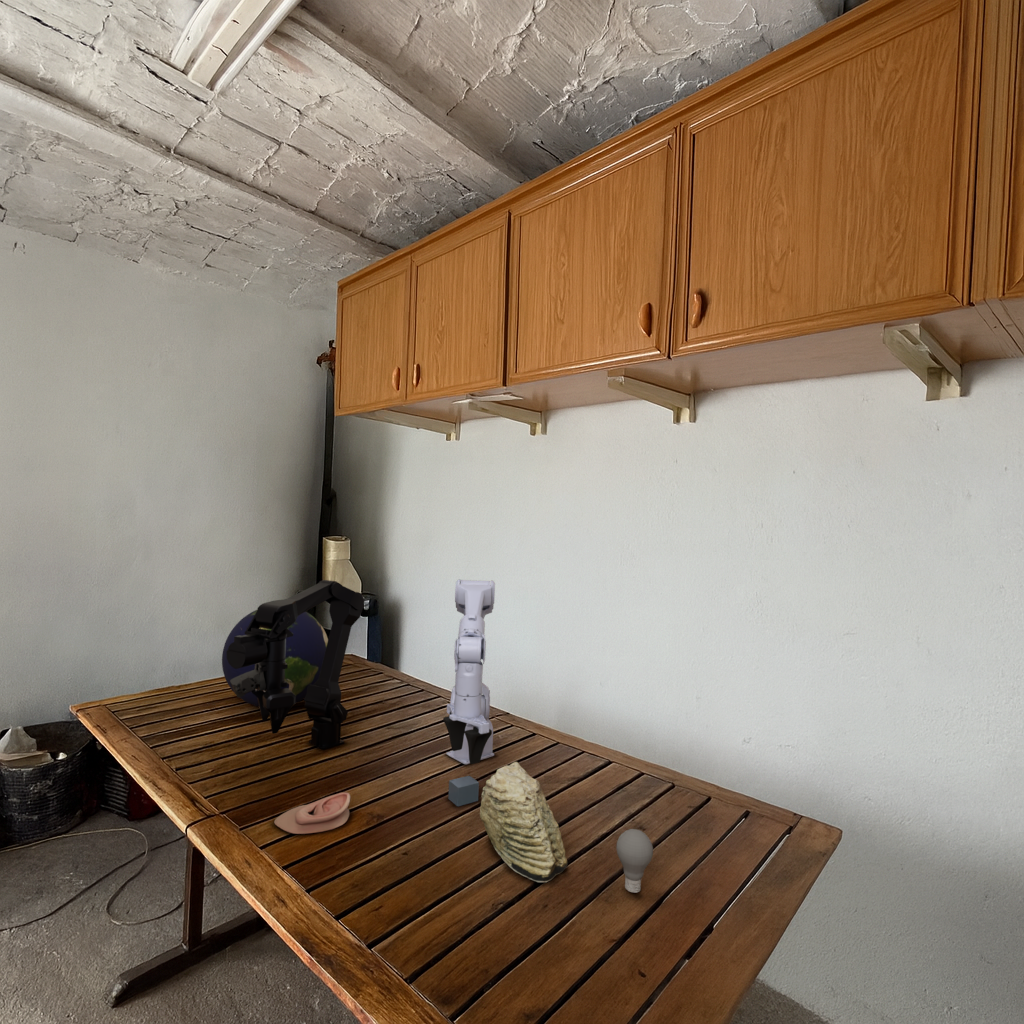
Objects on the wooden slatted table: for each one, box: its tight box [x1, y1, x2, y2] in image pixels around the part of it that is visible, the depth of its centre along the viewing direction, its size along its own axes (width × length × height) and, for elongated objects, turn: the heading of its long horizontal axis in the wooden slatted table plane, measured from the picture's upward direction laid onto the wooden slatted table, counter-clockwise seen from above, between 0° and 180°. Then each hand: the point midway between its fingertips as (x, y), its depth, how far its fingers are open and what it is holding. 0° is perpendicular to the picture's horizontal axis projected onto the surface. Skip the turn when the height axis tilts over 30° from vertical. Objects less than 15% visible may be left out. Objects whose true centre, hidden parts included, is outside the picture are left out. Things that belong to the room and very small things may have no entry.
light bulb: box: [615, 828, 654, 894], centre depth 106 cm, size 6×6×10 cm
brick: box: [447, 775, 480, 807], centre depth 135 cm, size 4×5×4 cm
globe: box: [221, 608, 329, 708], centre depth 188 cm, size 30×30×30 cm
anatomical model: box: [274, 791, 351, 835], centre depth 124 cm, size 13×4×12 cm
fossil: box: [479, 761, 569, 883], centre depth 114 cm, size 9×18×15 cm, turn 46°
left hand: (269, 726), depth 145 cm, fingers open, 9 cm apart
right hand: (465, 756), depth 135 cm, fingers open, 7 cm apart
